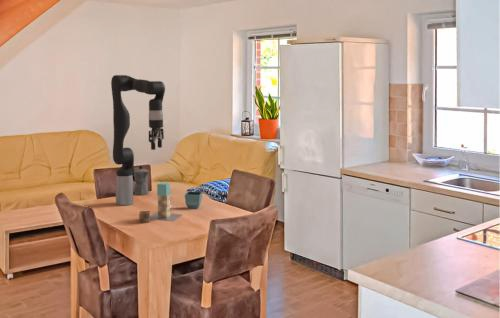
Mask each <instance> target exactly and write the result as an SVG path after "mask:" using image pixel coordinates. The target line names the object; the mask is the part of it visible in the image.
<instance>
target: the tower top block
mask: <svg viewBox="0 0 500 318" xmlns="http://www.w3.org/2000/svg"><path fill="white" fill-rule="evenodd" d="M170 195H171V193H170V194H169V195H167V196H159V195H157V208H158V207H168V206H169V205H170V206H171V201H170V200H171V199H170Z"/></svg>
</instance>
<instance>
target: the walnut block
mask: <svg viewBox="0 0 500 318" xmlns="http://www.w3.org/2000/svg"><path fill="white" fill-rule="evenodd" d="M138 214H139V215H138V216H139V218H138V219H139V222H138V223H139V224H141V223H142V224H146V223H150V221H151V220H150V216H151V211H150V210H146V211H145V210H141V211H139V213H138Z"/></svg>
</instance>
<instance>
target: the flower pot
mask: <svg viewBox="0 0 500 318" xmlns="http://www.w3.org/2000/svg"><path fill="white" fill-rule="evenodd" d="M184 199H185V205H186V207H187V209H188V210H198V209H200V206H201V204H202V201H203V200H202V199H203V192H202V191H187V192H185V194H184Z"/></svg>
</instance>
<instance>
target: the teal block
mask: <svg viewBox="0 0 500 318" xmlns="http://www.w3.org/2000/svg"><path fill="white" fill-rule="evenodd" d="M156 188H157V190H156V191H157V194H156V195H157V196H158V195H159V196H167V195H169V194H170V195H171V183H170V182H159V183H157V184H156Z"/></svg>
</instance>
